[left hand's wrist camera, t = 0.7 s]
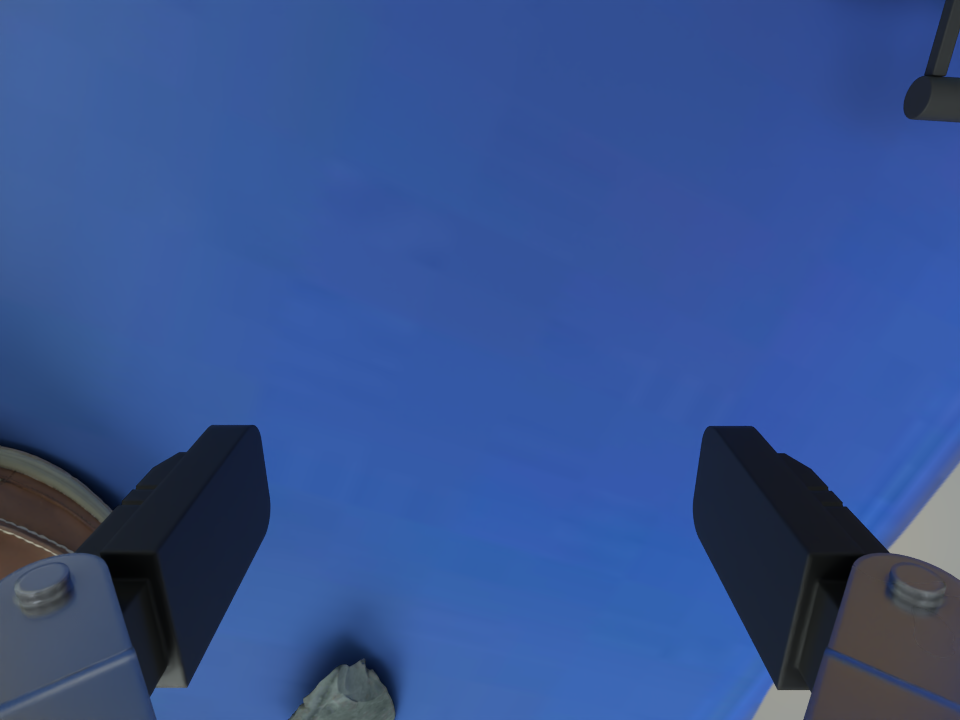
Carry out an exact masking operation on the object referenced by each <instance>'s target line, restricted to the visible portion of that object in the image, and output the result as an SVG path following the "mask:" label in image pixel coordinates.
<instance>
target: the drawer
mask: <svg viewBox="0 0 960 720" xmlns="http://www.w3.org/2000/svg"><path fill="white" fill-rule="evenodd" d="M959 30H960V0H946V1H945V5H944V8H943V12H942V15H941V19H940V22H939V26H938V29H937V33H936V36H935V40H934V43H933V47H932V50H931V54H930V57H929V61H928V64H927V67H926V71H925V74H924V76H922V77H919V78H918V79H916V80H915V81H914V82H913V83H912V85H911V86H910V88H909V89H908V91H907V94H906V96H905V100H904V113H905V115H906V117H907V118H909V119H914V120H930V121H945V122H960V78H954V77H942V76H946V73H947V70H948V67H949V63H950V60H951V57H952V53H953V50H954V47H955V43H956V40H957V37H958V33H959Z"/></svg>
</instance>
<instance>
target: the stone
mask: <svg viewBox="0 0 960 720" xmlns="http://www.w3.org/2000/svg"><path fill="white" fill-rule="evenodd" d="M303 702H304V703H303V704H301V705H300V706H299V707H298V709H297V711H295V713H294V714H292V716H291V717H290V718H289V719H288V720H394V718H395V709H394V705H393V701H392V699H391V697H390V695H389V694H388V692H387V688H386V687H385V686H384V685H383V684H382V683H381V681H380V680H379V677H378V676H377V674H376V673H375V672H374V670H373V669H370V670H369V669H367V668H366V665H365V659H362V660H359V661H358V662H357V663H355V664H354V665H352V666H348V665H339V666H338V667H336V668H335V669H334V670H333V671H332V672H331V673H330V674H329V675H328V676H327V677H325V678H324V679H323V680H322V681H321V682H319V684H318V685H317V686H316V688H315V689H314V690H313V691H312V692H311V693H310V694H309V695H308V696H306V697H304V699H303Z"/></svg>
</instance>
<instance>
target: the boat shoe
mask: <svg viewBox="0 0 960 720" xmlns="http://www.w3.org/2000/svg"><path fill="white" fill-rule="evenodd" d="M111 512H112V510H111V508H110V507H109V506H108V505H106V504H105V503H104V502H103V501H102V500H101V499H100V498H99V497H98V496H97V495H96V494H94V493H93V492H92V491H91V490H90V489H89V488H88V487H87V486H86V485H84V484H83V483H82V482H81V481H79V480H78V479H77V478H74V477H72V476H71V475H70V474H69V473H68V472H66V471H64V470H63V469H61V468H59V467H58V466H56V465H54V464H52V463H50V462H48V461H46V460H44V459H42V458H39V457H37V456H35V455H31V454H29V453H27V452H23V451H20V450H16V449H12V448H8V447H3V446H0V580H2V579H3V578H5V577H6V576H8V575H9V574H11V573H13V572H14V571H16V570H18V569H20V568H22V567H24V566H26V565H28V564H31V563H33V562H36V561H39V560H41V559H45V558H48V557H52V556H56V555H61V554H68V553H74V552H75V551H76V550H77V549H78V548H79V547H80V546H81V545H82V544H83V543H84V541H85V540H86V539H87V538H88V537H89V536H90V535H91V534H92V533H93V532H94V531H95V530H96V529H97V527H98V526H99V525H100V524H101V523H102V522H103V521H104V520H105V519H106V518H107V517H108V516H109V515H110V513H111Z"/></svg>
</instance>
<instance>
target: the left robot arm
mask: <svg viewBox="0 0 960 720" xmlns="http://www.w3.org/2000/svg"><path fill="white" fill-rule="evenodd" d="M269 518H270V496H269V489H268V482H267V475H266V468H265V461H264V455H263V448H262V441H261V436H260V432H259V430H258V428H257V427H256V426H255V425H211V426H210V427H208V428H207V430H206V431H205V432H204V433H203V434H202V435H201V436H200V438H199V439H198V440H197V441H196V442H195V443H194V444H193V446H192V447H191V448H190V449H189V450H188V451H187V452H179V453H177V454H175V455H174V456H172V457H170V458H169V459H167V460H165V461H164V462H162V463H160V464H159V465H157V466H155V467H153V468H152V469H151V470H150V472H149V473H148V474H147V475H146V476H145V477H144V478H143V479H142V480H141V481H140V482H139V483H138V484H137V486H136V490H132V491H131V492H130V493H129V494H128V495H127V496H126V497H125V498H124V499H123V501H122V505H118V506H117V507H116V508H115V509H114V510H113V511H112V512H111V513H110V515H109V516H108V517H107V518H106V519H105V520H104V521H103V522H102V523H101V524H100V525H99V526H98V527H97V529H96V530H95V531H94V532H93V533H92V534H91V535H90V536H89V537H88V538H87V539H86V540H85V541H84V543H83V544H82V545H81V546H80V547H79V548H78V549H77V550H76V551H75V552H74V553H68V554H61V555H56V556H52V557H48V558H45V559H41V560H39V561H36V562H33V563H31V564H28V565H26V566H24V567H22V568H20V569H18V570H16V571H14V572H13V573H11V574H9V575H8V576H6V577H5V578H3V579H2V580H0V720H157V719H156V716H155V713H154V710H153V707H152V703H151V700H150V696H151V694H152V693H153V691H154V689H155V688H187V687H188V685H189V683H190V681H191V679H192V677H193V675H194V673H195V671H196V669H197V667H198V665H199V663H200V662H201V660H202V658H203V656H204V654H205V652H206V650H207V648H208V646H209V644H210V642H211V640H212V638H213V636H214V634H215V632H216V630H217V628H218V626H219V624H220V622H221V621H222V619H223V617H224V615H225V613H226V611H227V609H228V607H229V605H230V603H231V601H232V599H233V597H234V595H235V593H236V591H237V589H238V587H239V585H240V583H241V582H242V580H243V578H244V576H245V574H246V572H247V570H248V568H249V566H250V564H251V562H252V560H253V558H254V556H255V554H256V552H257V550H258V548H259V546H260V544H261V542H262V541H263V539H264V537H265V534H266V532H267V528H268V524H269ZM693 518H694V524H695V529H696V532H697V535H698V537H699V539H700V541H701V543H702V545H703V547H704V549H705V551H706V553H707V555H708V557H709V559H710V560H711V562H712V564H713V566H714V568H715V570H716V572H717V574H718V576H719V578H720V580H721V582H722V584H723V585H724V587H725V589H726V591H727V593H728V595H729V597H730V599H731V601H732V603H733V605H734V607H735V609H736V611H737V612H738V614H739V616H740V618H741V620H742V622H743V624H744V626H745V628H746V630H747V632H748V634H749V636H750V638H751V639H752V641H753V643H754V645H755V647H756V649H757V651H758V653H759V655H760V657H761V659H762V661H763V663H764V665H765V666H766V668H767V670H768V672H769V674H770V676H771V678H772V680H773V682H774V684H775V686H776V688H777V689H778V690H810V691H811V693H812V694H811V697H810V700H809V703H808V707H807V710H806V713H805V716H804V719H803V720H960V580H958V579H957V578H955V577H954V576H952V575H951V574H949V573H947V572H946V571H944V570H942V569H940V568H938V567H936V566H934V565H932V564H929V563H927V562H924V561H921V560H918V559H915V558H912V557H908V556H904V555H899V554H892V553H889V551H888V550H887V549H886V548H885V547H884V546H883V545H882V544H881V543H880V542H879V541H878V540H877V539H876V538H875V537H874V535H873V534H872V533H871V532H870V531H869V530H868V529H867V528H866V527H865V526H864V525H863V524H862V523H861V522H860V521H859V519H858V518H857V517H856V516H855V515H854V514H853V513H852V512H851V511H850V510H849V509H848V508H847V507H843V502H842V501H841V500H840V499H839V498H838V497H837V496H836V495H835V494H834V493H833V492H832V491H828V486H827V485H826V484H825V483H824V482H823V481H822V480H821V479H820V478H819V477H818V476H817V475H816V474H815V473H814V472H813V470H812V469H810V468H809V467H807V466H805V465H804V464H802V463H800V462H798V461H797V460H795V459H793V458H792V457H790V456H788V455H787V454H785V453H777V452H776V451H775V450H774V449H773V448H772V447H771V446H770V444H769V443H768V442H767V441H766V440H765V439H764V438H763V437H762V435H761V434H760V433H759V432H758V431H757V430H756V429H755V428H754V427H752V426H709V427H707V428H706V430H705V432H704V434H703V438H702V444H701V451H700V458H699V464H698V471H697V478H696V485H695V492H694V499H693Z"/></svg>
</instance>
